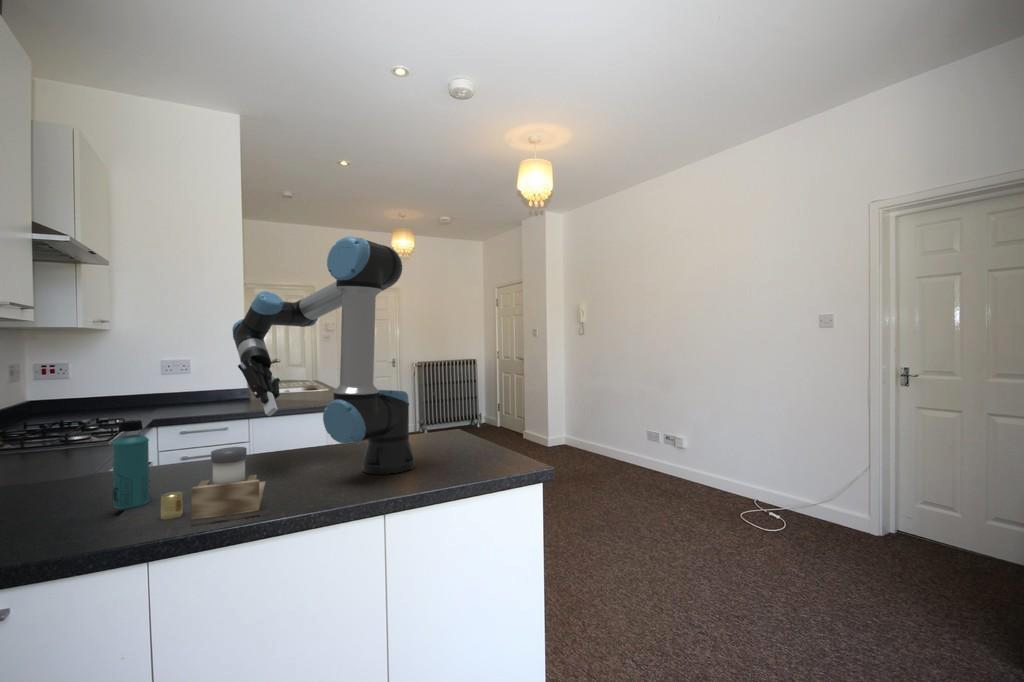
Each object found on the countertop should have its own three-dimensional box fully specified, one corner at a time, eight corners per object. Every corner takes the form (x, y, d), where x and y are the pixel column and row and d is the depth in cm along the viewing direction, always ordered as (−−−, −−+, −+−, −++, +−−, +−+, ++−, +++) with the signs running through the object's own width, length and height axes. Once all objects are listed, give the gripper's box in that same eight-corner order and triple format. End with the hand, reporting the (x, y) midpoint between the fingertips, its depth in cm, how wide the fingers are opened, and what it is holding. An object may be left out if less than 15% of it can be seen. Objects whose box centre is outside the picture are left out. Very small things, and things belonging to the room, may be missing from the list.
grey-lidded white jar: (248, 499, 106) (247, 445, 107) (245, 508, 100) (245, 451, 101) (213, 503, 104) (213, 448, 104) (208, 512, 98) (208, 454, 98)
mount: (265, 487, 121) (265, 457, 121) (258, 517, 100) (258, 481, 100) (210, 493, 116) (210, 463, 116) (191, 527, 95) (191, 489, 95)
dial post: (184, 519, 99) (184, 490, 99) (180, 525, 96) (180, 495, 96) (163, 522, 97) (163, 493, 97) (158, 528, 94) (158, 498, 94)
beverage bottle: (157, 507, 106) (157, 418, 107) (126, 517, 100) (126, 423, 100) (135, 505, 108) (135, 417, 108) (103, 515, 102) (103, 422, 102)
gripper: (262, 375, 143) (279, 429, 128) (225, 355, 133) (239, 412, 118) (281, 359, 143) (301, 411, 129) (246, 338, 133) (263, 392, 118)
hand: (271, 411), depth 123 cm, fingers closed
